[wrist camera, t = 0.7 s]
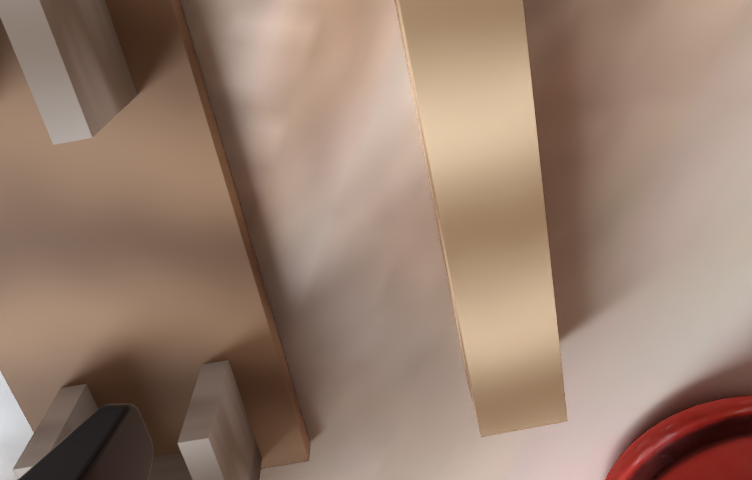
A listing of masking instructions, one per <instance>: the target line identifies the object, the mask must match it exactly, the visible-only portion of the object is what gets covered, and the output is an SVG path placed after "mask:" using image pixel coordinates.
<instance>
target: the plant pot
mask: <svg viewBox="0 0 752 480" xmlns="http://www.w3.org/2000/svg"><path fill="white" fill-rule="evenodd" d="M605 480H752V396H741V397H732V398H726V399H720V400H715V401H710V402H707V403H703V404H699V405H696V406H694V407H691V408H688V409H686V410H683V411H681V412H679V413H676V414H674V415H672V416H670V417H669V418H667V419H665V420H663V421H661V422H660V423H658V424H657V425H655V426H654V427H652V428H651V429H649V430H648V431H646V432H645V433H644V434H643V435H641V436H640V437H639V438H638V439H637V440H635V441H634V442H633V443H632V444H631V445H630V446H629V447H628V448H627V449H626V450H625V451H624V452H623V453H622V455H621V456H620V457H619V459H618V460H617V461H616V463H615V464H614V465H613V467H612V468H611V470H610V472H609V473H608V475H607V477H606V479H605Z"/></svg>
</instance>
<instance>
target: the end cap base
mask: <svg viewBox="0 0 752 480" xmlns="http://www.w3.org/2000/svg"><path fill="white" fill-rule="evenodd" d="M0 371H1V373H2V375H3V376H4V378H5V380H6V382H7V384H8V386H9V387H10V389H11V391H12V393H13V395H14V397H15V399H16V400H17V402H18V404H19V406H20V408H21V410H22V411H23V413H24V415H25V417H26V419H27V421H28V423H29V424H30V426H31V428H32V430H33V432H34V434H33V436H32V438H31V439H30V441H29V443H28V444H27V446H26V448H25V450H24V451H23V453H22V455H21V456H20V458H19V460H18V462H17V463H16V465H15V467H14V468H13V471H14V473H15V474H16V476H17V478H18V479H19V478H20V477H21V476H22V475H23V474H25V473H26V472H27V471H28V470H29V469H30V468H32V467H33V466H34V465H35V464H36V463H37V462H38V461H40V460H41V459H42V458H43V457H44V456H45V455H46V454H48V453H49V452H50V451H51V450H52V449H53V448H54V447H56V446H57V445H58V444H59V443H60V442H61V441H62V440H64V439H65V438H66V437H67V436H68V435H69V434H70V433H72V432H73V431H74V430H75V429H76V428H77V427H78V426H80V425H81V424H82V423H83V422H84V421H85V420H86V419H88V418H89V417H90V416H91V415H92V414H93V413H94V412H96V411H97V410H98V409H99V408H100V407H102V406H104V405H106V404H120V403H131V404H134V405H135V406H136V407H137V408H138V410H139V411H140V414H141V416H142V419H143V421H144V423H145V426H146V428H147V430H148V433H149V435H150V437H151V440H152V443H153V461H152V466H151V470H150V475H149V480H259V478H260V471H261V469H262V468H268V467H274V466H281V465H287V464H293V463H299V462H306V461H309V454H310V441H309V437H308V434H307V430H306V427H305V424H304V420H303V417H302V413H301V410H300V407H299V403H298V400H297V396H296V393H295V390H294V386H293V383H292V379H291V376H290V373H289V369H288V366H287V362H286V359H285V356H284V352H283V349H282V345H281V342H280V339H279V335H278V332H277V328H276V325H275V322H274V318H273V315H272V311H271V308H270V305H269V301H268V298H267V294H266V291H265V288H264V284H263V281H262V277H261V274H260V271H259V267H258V264H257V260H256V257H255V254H254V250H253V247H252V243H251V240H250V237H249V233H248V230H247V226H246V223H245V220H244V216H243V213H242V209H241V206H240V203H239V199H238V196H237V192H236V189H235V186H234V182H233V179H232V175H231V172H230V169H229V165H228V162H227V158H226V155H225V152H224V148H223V145H222V141H221V138H220V135H219V131H218V128H217V124H216V121H215V118H214V114H213V111H212V107H211V104H210V101H209V97H208V94H207V90H206V87H205V84H204V80H203V77H202V73H201V70H200V67H199V63H198V60H197V56H196V53H195V50H194V46H193V43H192V39H191V36H190V33H189V29H188V26H187V22H186V19H185V16H184V12H183V9H182V5H181V2H180V0H0Z"/></svg>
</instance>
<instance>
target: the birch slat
mask: <svg viewBox="0 0 752 480" xmlns="http://www.w3.org/2000/svg"><path fill="white" fill-rule="evenodd" d="M395 4H396V9H397V15H398V20H399V25H400V30H401V36H402V41H403V46H404V51H405V57H406V62H407V67H408V72H409V78H410V83H411V88H412V93H413V99H414V104H415V109H416V115H417V120H418V125H419V130H420V136H421V141H422V146H423V151H424V157H425V162H426V167H427V172H428V178H429V183H430V188H431V193H432V199H433V204H434V209H435V214H436V220H437V225H438V230H439V236H440V241H441V246H442V251H443V257H444V262H445V267H446V272H447V278H448V283H449V288H450V293H451V299H452V304H453V309H454V314H455V320H456V325H457V330H458V335H459V341H460V346H461V351H462V357H463V362H464V367H465V372H466V376H467V380H468V384H469V388H470V392H471V396H472V401H473V405H474V409H475V413H476V417H477V421H478V425H479V429H480V434H481V437H484V436H489V435H495V434H500V433H506V432H511V431H516V430H522V429H527V428H533V427H538V426H544V425H549V424H555V423H560V422H565V421H567V411H566V402H565V393H564V383H563V374H562V364H561V355H560V345H559V336H558V327H557V317H556V308H555V298H554V289H553V279H552V270H551V261H550V251H549V242H548V232H547V223H546V213H545V204H544V195H543V185H542V176H541V166H540V157H539V147H538V138H537V129H536V119H535V110H534V100H533V91H532V82H531V72H530V63H529V53H528V44H527V34H526V25H525V16H524V6H523V0H395Z"/></svg>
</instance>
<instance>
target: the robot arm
mask: <svg viewBox="0 0 752 480" xmlns="http://www.w3.org/2000/svg"><path fill="white" fill-rule="evenodd" d="M152 461H153V443H152V440H151V437H150V435H149V433H148V430H147V428H146V426H145V423H144V421H143V419H142V416H141V414H140V411H139V410H138V408H137V407H136V406H135V405H134V404H131V403H120V404H106V405H104V406H102V407H100V408H99V409H98V410H97V411H96V412H94V413H93V414H92V415H91V416H90V417H89V418H88V419H86V420H85V421H84V422H83V423H82V424H81V425H80V426H78V427H77V428H76V429H75V430H74V431H73V432H72V433H70V434H69V435H68V436H67V437H66V438H65V439H64V440H62V441H61V442H60V443H59V444H58V445H57V446H56V447H54V448H53V449H52V450H51V451H50V452H49V453H48V454H46V455H45V456H44V457H43V458H42V459H41V460H40V461H38V462H37V463H36V464H35V465H34V466H33V467H32V468H30V469H29V470H28V471H27V472H26V473H25V474H23V475H22V476H21V477H20V478H19V479H18V480H149V475H150V470H151V466H152Z"/></svg>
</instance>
